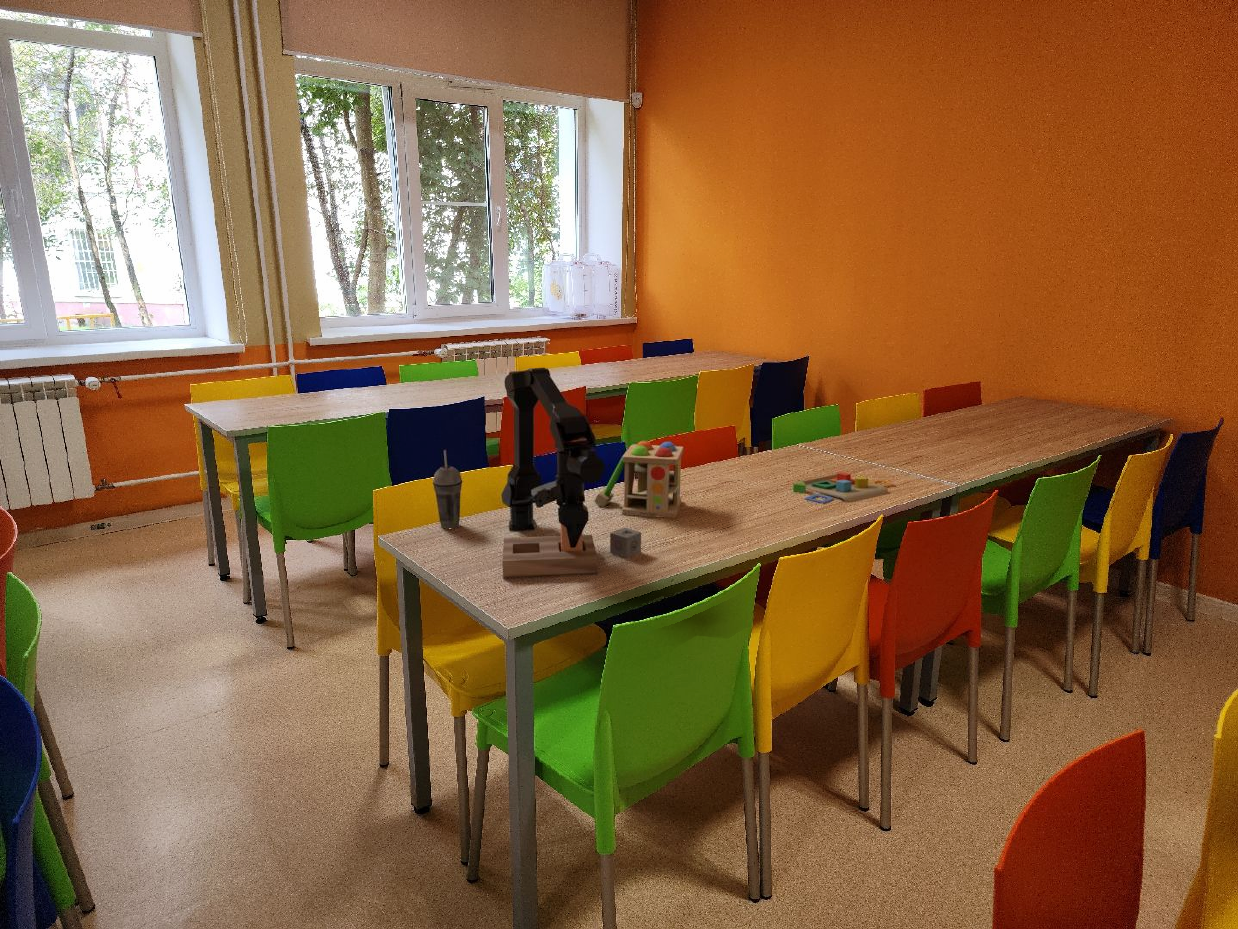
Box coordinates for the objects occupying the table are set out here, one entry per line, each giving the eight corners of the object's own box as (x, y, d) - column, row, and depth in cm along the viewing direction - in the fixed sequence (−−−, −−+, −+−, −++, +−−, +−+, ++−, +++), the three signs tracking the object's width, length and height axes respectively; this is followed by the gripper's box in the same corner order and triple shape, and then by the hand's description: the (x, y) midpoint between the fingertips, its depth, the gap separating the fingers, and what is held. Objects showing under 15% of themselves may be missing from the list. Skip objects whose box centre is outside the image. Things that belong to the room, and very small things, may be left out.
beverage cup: (466, 521, 204) (463, 445, 198) (462, 531, 197) (458, 452, 191) (438, 521, 203) (433, 445, 198) (432, 531, 196) (427, 452, 191)
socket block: (504, 554, 181) (503, 538, 180) (591, 550, 184) (591, 534, 183) (503, 578, 168) (502, 561, 167) (597, 574, 170) (597, 557, 169)
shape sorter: (858, 475, 248) (859, 461, 247) (908, 490, 232) (910, 475, 231) (778, 492, 231) (779, 477, 229) (826, 509, 215) (828, 493, 214)
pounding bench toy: (589, 513, 210) (589, 447, 206) (601, 497, 224) (600, 435, 219) (676, 518, 206) (677, 451, 202) (682, 502, 220) (683, 439, 215)
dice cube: (640, 552, 183) (641, 532, 181) (626, 559, 179) (626, 538, 178) (624, 547, 186) (624, 527, 185) (610, 553, 182) (610, 533, 181)
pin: (561, 557, 178) (560, 515, 176) (581, 556, 179) (580, 514, 176) (562, 565, 174) (561, 522, 171) (582, 564, 174) (582, 521, 172)
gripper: (532, 461, 179) (534, 527, 183) (533, 485, 161) (535, 557, 165) (581, 460, 180) (582, 525, 184) (588, 483, 162) (589, 555, 166)
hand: (571, 540), depth 175 cm, fingers open, 9 cm apart
